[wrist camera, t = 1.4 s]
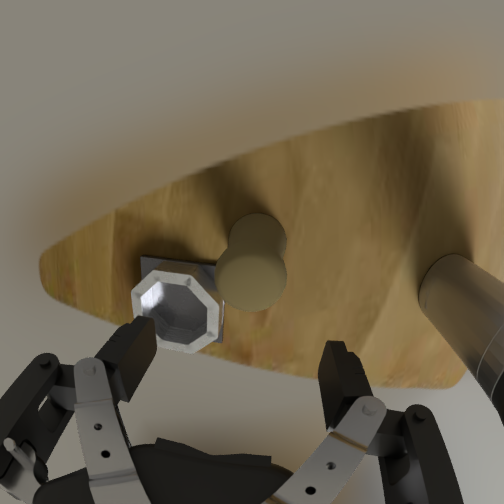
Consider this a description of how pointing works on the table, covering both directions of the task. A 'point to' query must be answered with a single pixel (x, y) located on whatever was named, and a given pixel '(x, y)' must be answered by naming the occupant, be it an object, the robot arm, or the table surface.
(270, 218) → the cork
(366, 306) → the table surface
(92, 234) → the table surface
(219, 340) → the duct collar
